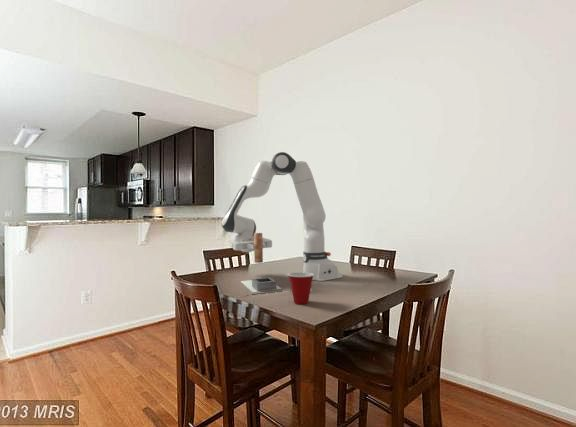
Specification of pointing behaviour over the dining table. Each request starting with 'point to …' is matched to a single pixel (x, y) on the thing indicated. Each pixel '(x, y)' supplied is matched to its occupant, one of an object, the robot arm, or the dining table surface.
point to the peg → (258, 248)
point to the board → (261, 285)
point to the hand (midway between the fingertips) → (259, 246)
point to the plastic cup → (301, 286)
